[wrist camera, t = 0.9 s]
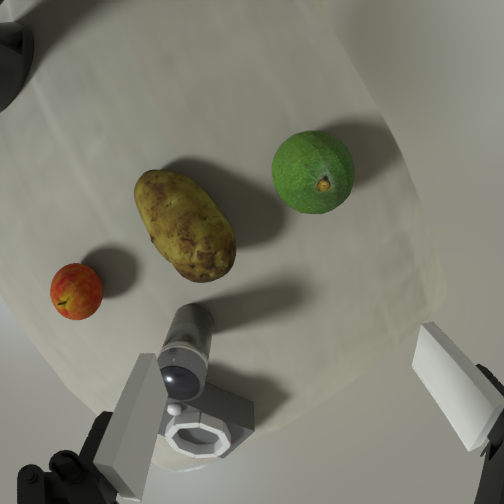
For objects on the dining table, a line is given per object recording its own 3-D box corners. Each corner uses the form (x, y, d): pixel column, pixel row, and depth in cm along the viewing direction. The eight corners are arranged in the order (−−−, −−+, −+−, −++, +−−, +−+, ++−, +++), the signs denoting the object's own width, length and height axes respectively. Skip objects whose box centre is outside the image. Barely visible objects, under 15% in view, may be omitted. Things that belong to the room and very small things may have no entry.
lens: (167, 326, 38) (143, 387, 27) (185, 296, 37) (163, 354, 25) (202, 344, 39) (190, 410, 28) (221, 316, 38) (214, 379, 26)
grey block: (154, 401, 43) (143, 437, 35) (176, 368, 40) (166, 406, 33) (224, 431, 45) (223, 467, 37) (253, 402, 43) (255, 441, 35)
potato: (200, 147, 32) (188, 144, 24) (246, 250, 35) (247, 276, 28) (136, 179, 33) (107, 186, 25) (183, 276, 36) (169, 306, 29)
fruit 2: (347, 187, 34) (395, 203, 22) (286, 216, 34) (308, 246, 23) (318, 124, 31) (356, 108, 20) (255, 152, 32) (262, 149, 21)
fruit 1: (116, 303, 37) (92, 335, 30) (75, 304, 37) (47, 333, 30) (104, 253, 35) (74, 277, 27) (62, 258, 35) (29, 280, 27)
